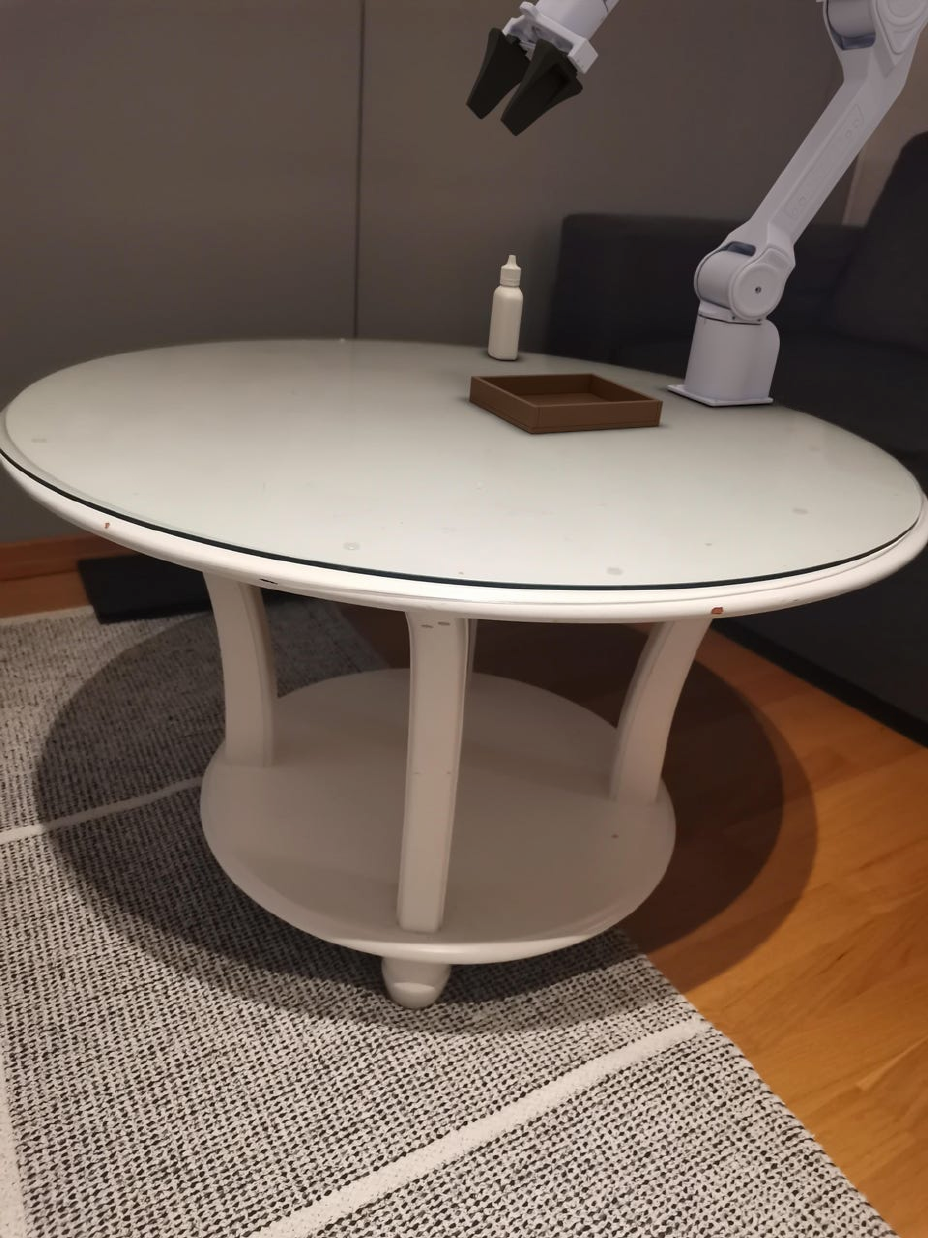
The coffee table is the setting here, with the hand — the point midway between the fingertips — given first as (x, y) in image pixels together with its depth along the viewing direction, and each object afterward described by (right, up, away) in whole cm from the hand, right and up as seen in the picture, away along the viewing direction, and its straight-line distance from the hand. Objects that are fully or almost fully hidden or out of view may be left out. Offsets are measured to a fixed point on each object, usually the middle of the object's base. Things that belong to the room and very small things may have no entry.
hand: (490, 119), depth 90 cm
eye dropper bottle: (+2, -15, +29) cm, 33 cm away
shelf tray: (+8, -27, +5) cm, 28 cm away
